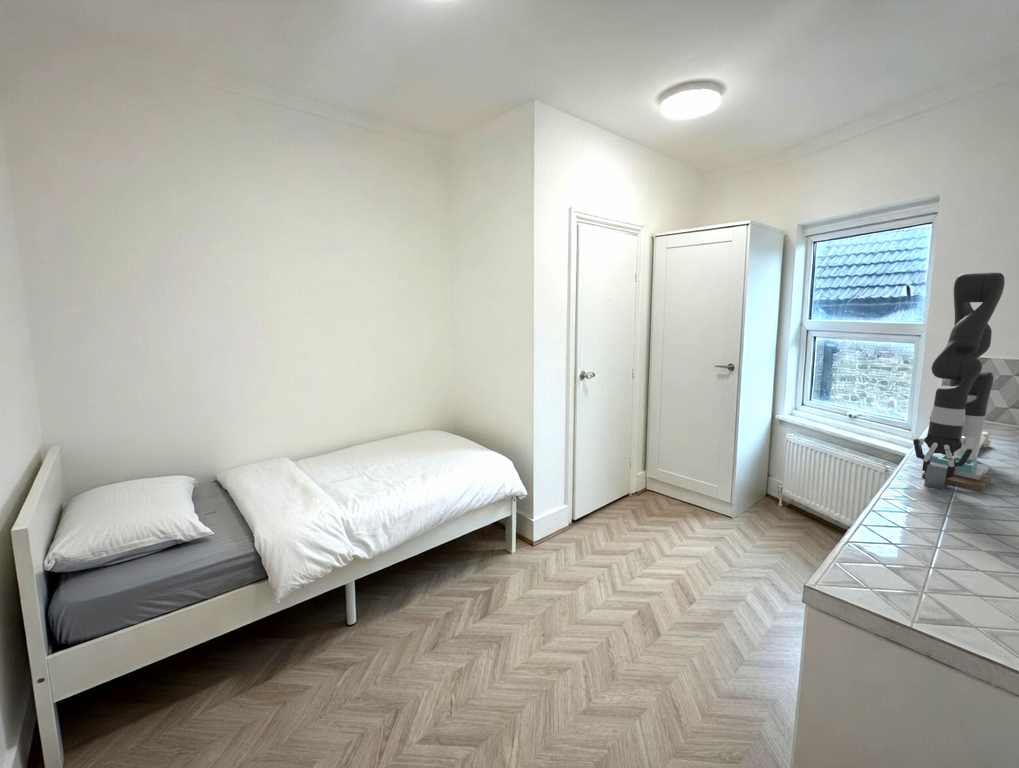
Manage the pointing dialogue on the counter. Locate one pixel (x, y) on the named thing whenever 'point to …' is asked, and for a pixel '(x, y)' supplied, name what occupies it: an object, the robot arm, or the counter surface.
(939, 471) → the brushed steel block
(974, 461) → the bracket head
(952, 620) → the counter surface
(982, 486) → the foot plate
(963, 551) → the counter surface
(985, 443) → the cream flanged bar
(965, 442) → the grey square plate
